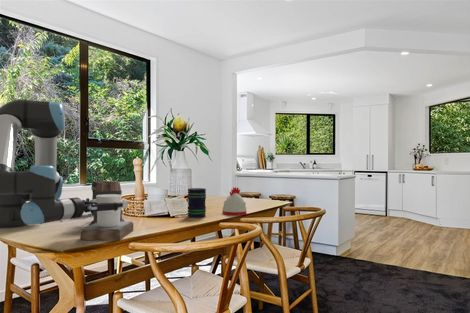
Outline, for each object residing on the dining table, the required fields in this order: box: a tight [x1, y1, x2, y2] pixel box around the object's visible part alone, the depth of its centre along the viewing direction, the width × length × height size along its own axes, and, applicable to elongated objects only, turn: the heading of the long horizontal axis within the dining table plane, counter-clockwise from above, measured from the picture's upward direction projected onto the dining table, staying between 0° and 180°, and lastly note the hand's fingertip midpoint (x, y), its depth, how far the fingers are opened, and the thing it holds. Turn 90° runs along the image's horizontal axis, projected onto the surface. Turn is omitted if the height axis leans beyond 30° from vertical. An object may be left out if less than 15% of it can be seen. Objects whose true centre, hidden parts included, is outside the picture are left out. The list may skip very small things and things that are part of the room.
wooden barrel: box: [90, 180, 110, 215], centre depth 198 cm, size 10×8×19 cm
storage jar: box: [187, 187, 207, 219], centre depth 190 cm, size 10×10×15 cm
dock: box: [79, 220, 134, 241], centre depth 142 cm, size 15×18×4 cm
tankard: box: [88, 181, 126, 226], centre depth 167 cm, size 24×17×20 cm
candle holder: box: [96, 194, 123, 227], centre depth 142 cm, size 10×10×12 cm
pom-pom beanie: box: [222, 186, 247, 216], centre depth 203 cm, size 14×14×15 cm
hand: (115, 202), depth 145 cm, fingers open, 13 cm apart
